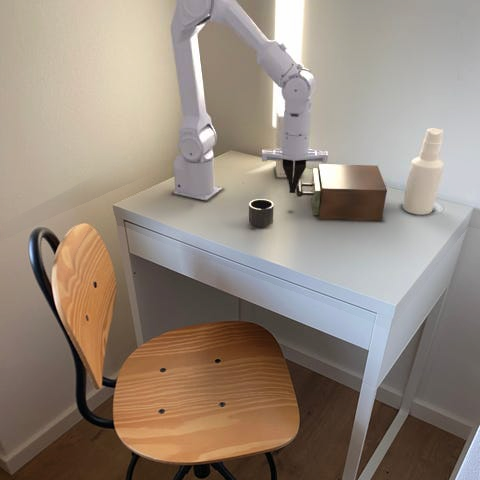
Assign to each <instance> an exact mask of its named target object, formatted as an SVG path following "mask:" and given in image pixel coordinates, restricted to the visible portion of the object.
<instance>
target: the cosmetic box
mask: <svg viewBox="0 0 480 480" xmlns="http://www.w3.org/2000/svg"><path fill="white" fill-rule="evenodd" d="M284 109H285V108H277V109H276V121H275V122H276V129H275V149H282V143H283V123H284ZM294 164H295V161H294ZM293 167H294V165H293ZM275 172H276V177H277V178H287V176H286V174H285V171H284V169H283V161H275ZM293 178H294V169H293Z"/></svg>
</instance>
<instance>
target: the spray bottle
mask: <svg viewBox="0 0 480 480" xmlns="http://www.w3.org/2000/svg"><path fill="white" fill-rule="evenodd" d="M444 132H445V131H444V130H443V129H441V128H438V127H430V128H427V129H426V131H425V137H424V139H423V141H422V144H421V149H420V153H419V156H417V157H415V158H413V159H412V161H411V164H410V168H409V172H408V179H407V182H406V186H405V187H406V188H405V192H404V197H403V201H402V209H403V210H404V211H406V212H407V213H408V214H409V213H410V214H414V215H418V216H419V215H423V216H424V215H428V214H430V213H432V212H433V210H434V207H435V203H436V198H437V195H438V190H439V186H440V182H441V178H442V175H443V171H444V166H445V164H444V162H443V160H441V159H440V155H441V150H442V145H443V136H444Z"/></svg>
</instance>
